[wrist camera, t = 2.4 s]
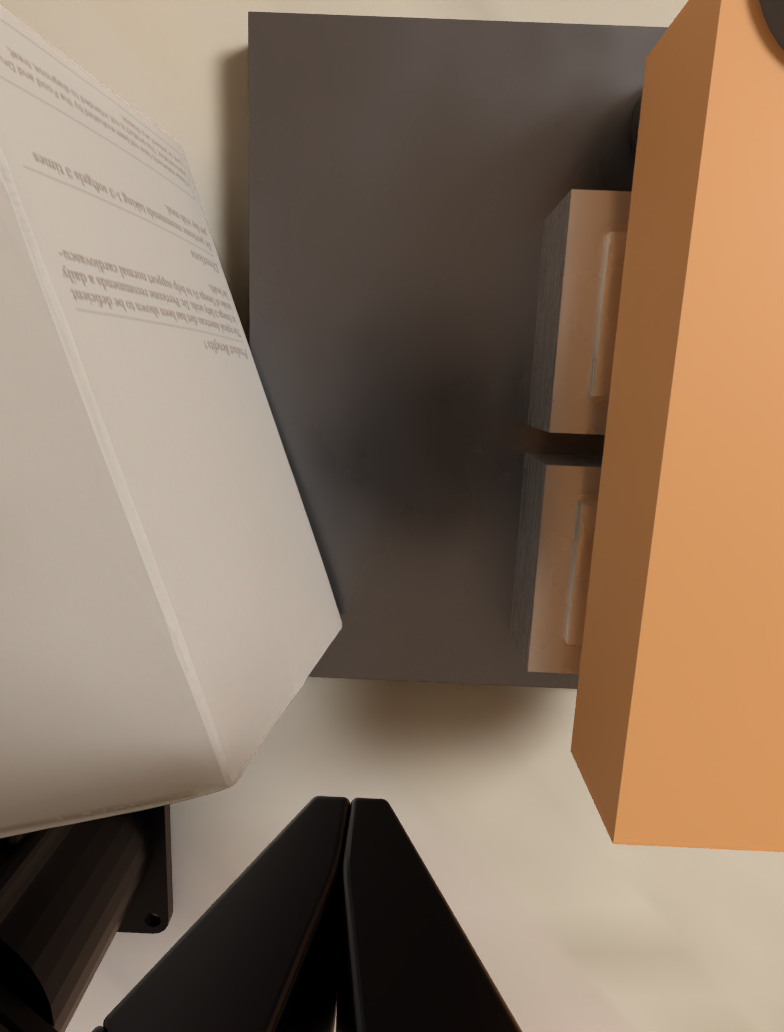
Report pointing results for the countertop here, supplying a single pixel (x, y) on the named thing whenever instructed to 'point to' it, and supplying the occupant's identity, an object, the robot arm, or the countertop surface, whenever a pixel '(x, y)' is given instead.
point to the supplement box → (131, 473)
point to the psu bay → (443, 322)
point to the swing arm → (695, 457)
